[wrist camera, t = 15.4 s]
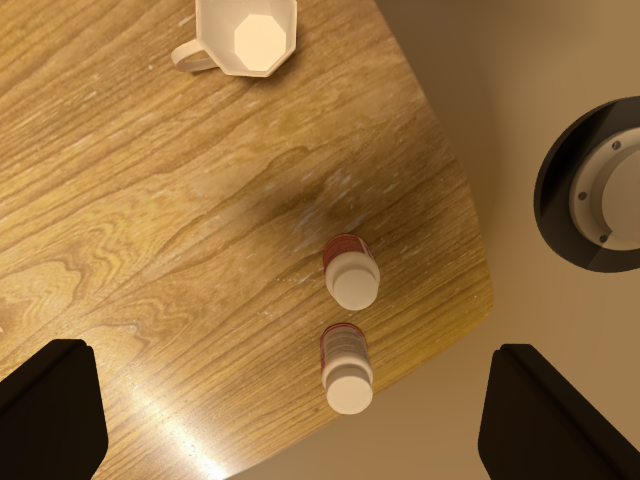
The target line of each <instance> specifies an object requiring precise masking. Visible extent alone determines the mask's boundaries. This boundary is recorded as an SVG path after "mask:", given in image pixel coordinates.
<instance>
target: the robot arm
mask: <svg viewBox="0 0 640 480" xmlns="http://www.w3.org/2000/svg"><path fill="white" fill-rule="evenodd" d="M569 210H570V215H571V218H572V221H573V223H574V225H575V227H576V228H577V230H578V231H579V233H581V234H582V235H583V236H584V237H585V238H586V239H587V240H589V241H591V242H592V243H594V244H596V245H599V246H602V247H604V248H607V249H612V250H632V249H638V248H640V127H634V128H629V129H625V130H623V131H620V132H617V133H615V134H613V135H611V136H610V137H608V138H606V139H604V140H603V141H602V142H601V143H599V144H598V145H597V146H596V147H594V148H593V149H592V150H591V151H590V153H589V154H588V155H587V156H586V157H585V158H584V160H583V161H582V163H581V164H580V166H579V167H578V169H577V171H576V173H575V175H574V178H573V180H572V183H571V187H570V191H569ZM108 443H109V442H108V434H107V428H106V422H105V416H104V410H103V404H102V398H101V392H100V386H99V380H98V374H97V368H96V362H95V356H94V351H93V349H92V347H91V346H87V344H86V343H85V341H84V340H82V339H54V340H52V341H50V342H49V343H48V344H47V345H45V346H44V347H43V348H42V349H40V350H39V351H38V352H37V353H36V354H34V355H33V356H32V357H31V358H29V359H28V360H27V361H26V362H24V363H23V364H22V365H21V366H20V367H18V368H17V369H16V370H15V371H13V372H12V373H11V374H10V375H9V376H7V377H6V378H5V379H4V380H2V381H1V382H0V480H91V478H92V477H93V475H94V473H95V472H96V470H97V469H98V467H99V465H100V464H101V462H102V461H103V459H104V457H105V455H106V452H107V449H108ZM478 451H479V455H480V458H481V460H482V463H483V464H484V466H485V468H486V470H487V472H488V474H489V476H490V478H491V480H640V452H639V451H637V449H636V448H635V447H634V446H633V445H632V444H631V443H630V442H629V441H627V439H626V438H625V437H624V436H623V435H622V434H621V433H620V432H619V431H617V429H616V428H614V427H613V426H612V425H611V424H610V423H609V422H608V421H607V420H606V419H605V418H604V417H603V416H602V415H601V414H600V413H599V412H598V411H597V410H596V409H595V408H594V407H593V406H592V405H591V404H590V403H589V402H588V401H587V400H586V399H585V398H584V397H583V396H582V395H581V394H580V393H579V392H578V391H577V390H576V389H575V388H574V387H573V386H572V385H571V384H570V383H569V382H568V381H567V380H566V379H565V378H564V377H563V376H562V375H561V374H560V373H559V372H558V371H557V370H556V369H555V368H554V367H553V366H552V365H551V364H550V363H549V362H548V361H547V360H546V359H545V358H544V357H543V356H542V355H541V354H540V353H539V352H538V351H537V350H536V349H535V348H534V347H533V346H532V345H530V344H503V345H502V346H501V348H500V350H496V351H495V352H494V353H493V357H492V363H491V368H490V374H489V380H488V386H487V391H486V398H485V403H484V409H483V414H482V420H481V426H480V432H479V438H478Z"/></svg>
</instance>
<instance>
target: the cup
mask: <svg viewBox="0 0 640 480" xmlns="http://www.w3.org/2000/svg"><path fill="white" fill-rule="evenodd" d="M296 21H297V2H296V0H196V30H197V39H195V40H192V41H190V42H188V43H185V44H183V45H181V46H179V47H178V48H176V49H175V50H174V51H173V52H172V53H171V54H170V55H171V58H172V61H173V63H174V65H175V68H176V70H178V71H179V72H194V71H200V70H205V69H210V68H214V67H220V68H221V69H222V70H223V72H224V73H225V74H226V75H241V76H255V77H268V76H270V75H271V74H272V73H273V72H274V71H275V70H276V69H277V68H278V67H279V66H280V65H281V64H283V63H284V62H285V61H286V60H287V59H288V58H289V57H290V55H291V54H292V52H293V51H294V50H295V46H296ZM205 51H206V52H207V53H208V55H209V56H210V57H209V58H204V59H199V60H192V61H183V60H184V59H186V58H188V57H190V56H193V55H196V54H199V53H202V52H205Z"/></svg>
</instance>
